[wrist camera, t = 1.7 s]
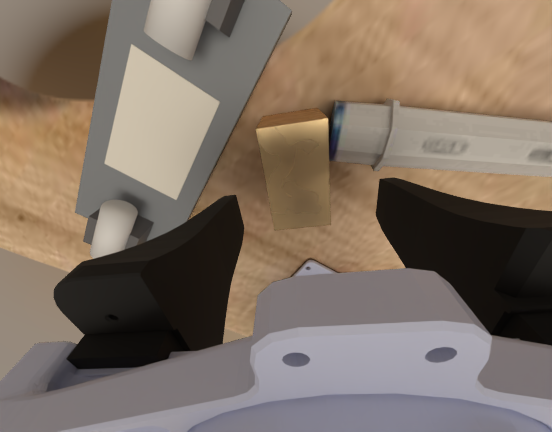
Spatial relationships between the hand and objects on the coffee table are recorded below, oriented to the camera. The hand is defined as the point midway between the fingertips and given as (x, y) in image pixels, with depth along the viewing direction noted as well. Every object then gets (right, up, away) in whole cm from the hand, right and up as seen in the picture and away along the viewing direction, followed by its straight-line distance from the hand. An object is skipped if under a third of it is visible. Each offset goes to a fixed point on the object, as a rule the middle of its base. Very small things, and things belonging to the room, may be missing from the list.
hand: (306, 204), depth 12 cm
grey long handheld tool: (+15, +6, +6) cm, 17 cm away
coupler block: (0, +4, +7) cm, 8 cm away
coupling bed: (-10, +6, +6) cm, 13 cm away
